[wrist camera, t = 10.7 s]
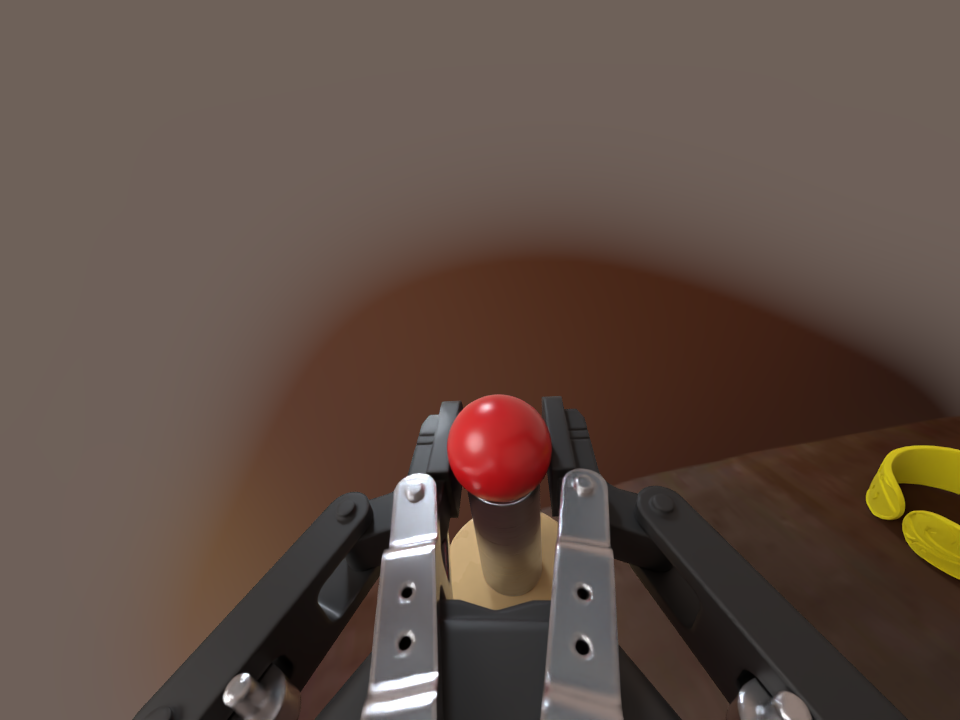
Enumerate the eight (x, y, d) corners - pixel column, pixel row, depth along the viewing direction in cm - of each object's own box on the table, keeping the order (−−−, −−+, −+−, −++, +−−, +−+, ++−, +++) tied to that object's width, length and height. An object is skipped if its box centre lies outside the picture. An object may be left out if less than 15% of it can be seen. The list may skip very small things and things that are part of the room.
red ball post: (532, 502, 19) (524, 338, 14) (613, 609, 14) (645, 425, 9) (428, 557, 17) (376, 390, 12) (485, 699, 12) (438, 530, 7)
